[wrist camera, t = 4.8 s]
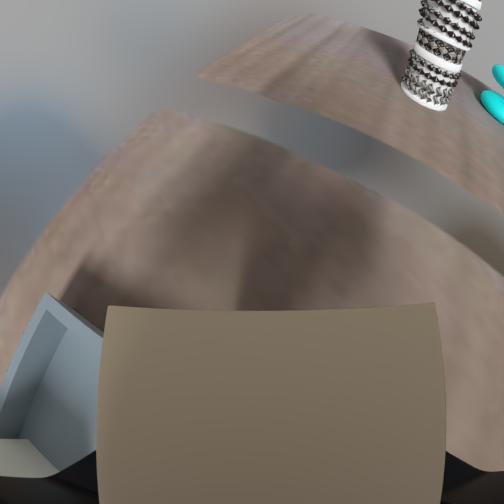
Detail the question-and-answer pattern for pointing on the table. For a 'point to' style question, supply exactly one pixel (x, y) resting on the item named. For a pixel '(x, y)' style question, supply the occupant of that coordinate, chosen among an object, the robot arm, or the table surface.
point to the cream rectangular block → (23, 460)
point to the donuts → (495, 96)
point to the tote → (54, 384)
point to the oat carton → (271, 406)
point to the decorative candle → (439, 50)
